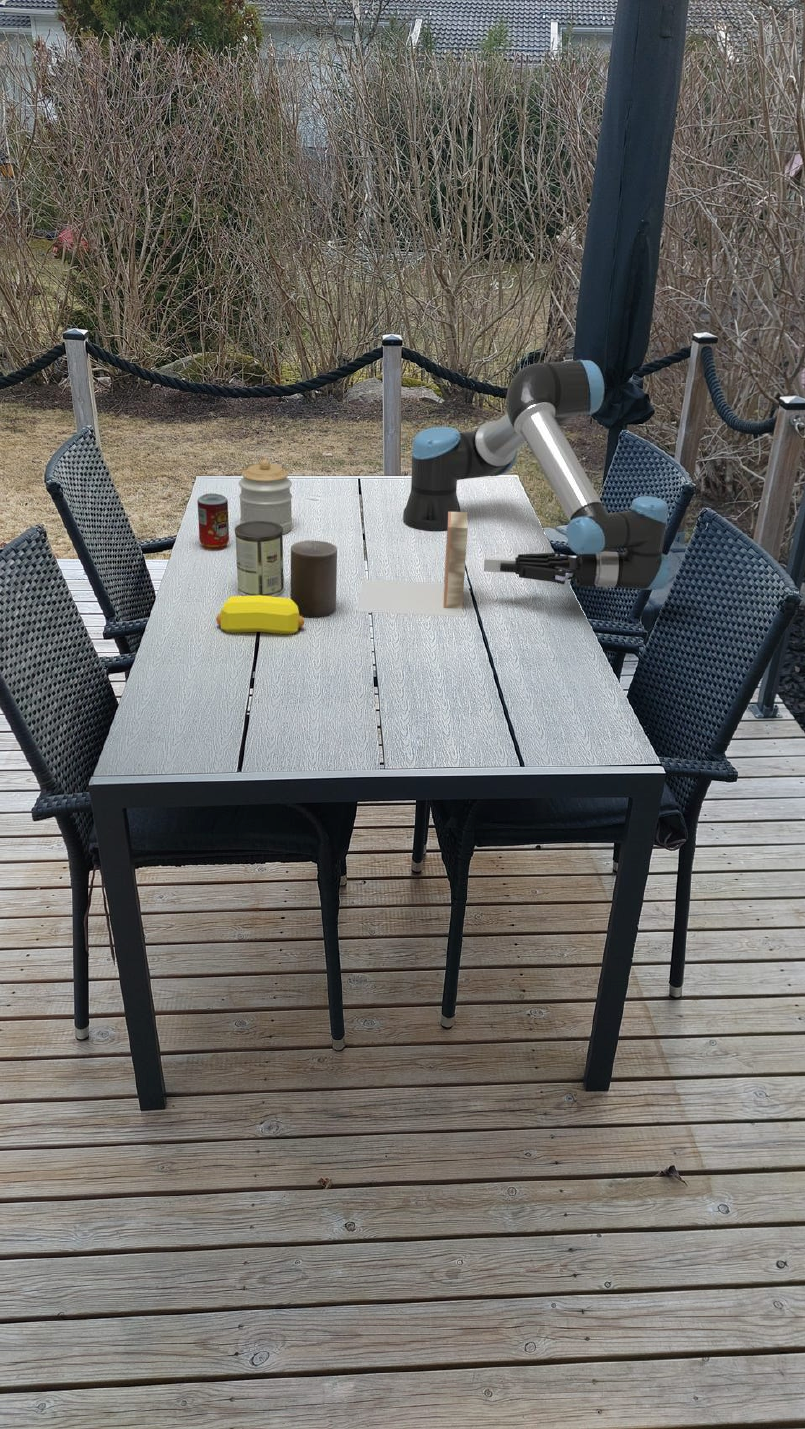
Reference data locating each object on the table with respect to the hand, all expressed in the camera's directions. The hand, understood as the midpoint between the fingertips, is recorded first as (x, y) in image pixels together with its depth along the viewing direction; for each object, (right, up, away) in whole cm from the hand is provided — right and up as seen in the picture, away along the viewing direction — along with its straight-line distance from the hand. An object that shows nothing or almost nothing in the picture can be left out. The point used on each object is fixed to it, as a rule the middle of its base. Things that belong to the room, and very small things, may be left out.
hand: (484, 564), depth 236 cm
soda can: (-63, +8, +30) cm, 70 cm away
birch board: (-7, -7, +5) cm, 11 cm away
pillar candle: (-36, -10, 0) cm, 38 cm away
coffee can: (-49, -5, +8) cm, 49 cm away
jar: (-52, +14, +42) cm, 68 cm away
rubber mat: (-16, -7, +5) cm, 18 cm away
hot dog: (-46, -15, -10) cm, 50 cm away
